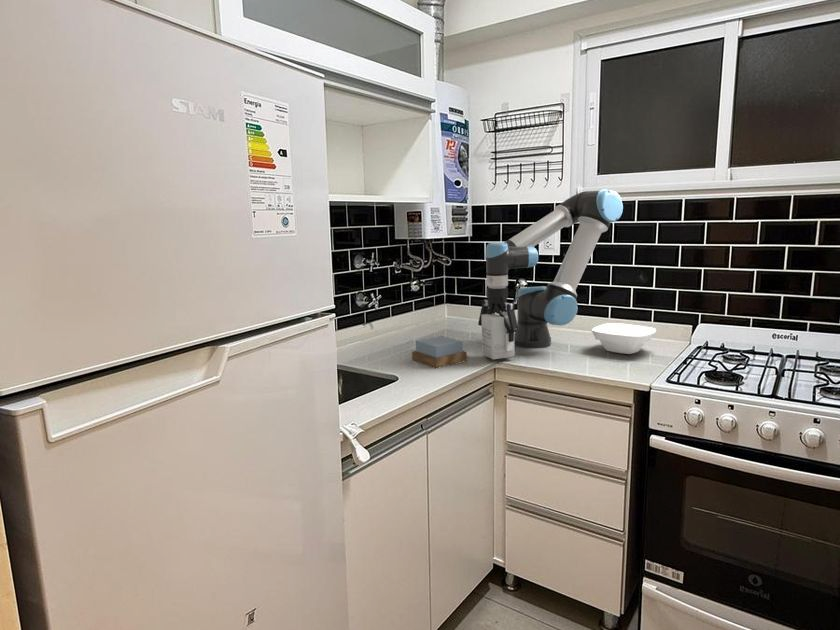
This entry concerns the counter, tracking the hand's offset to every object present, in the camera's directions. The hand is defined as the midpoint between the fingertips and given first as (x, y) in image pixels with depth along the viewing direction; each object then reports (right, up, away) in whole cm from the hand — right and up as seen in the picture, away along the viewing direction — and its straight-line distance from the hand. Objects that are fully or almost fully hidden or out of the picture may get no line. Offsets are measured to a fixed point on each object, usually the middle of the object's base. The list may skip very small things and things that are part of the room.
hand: (498, 347), depth 193 cm
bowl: (+48, -2, +7) cm, 48 cm away
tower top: (-21, -1, -1) cm, 21 cm away
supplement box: (0, -3, +1) cm, 3 cm away
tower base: (-21, -5, 0) cm, 22 cm away
